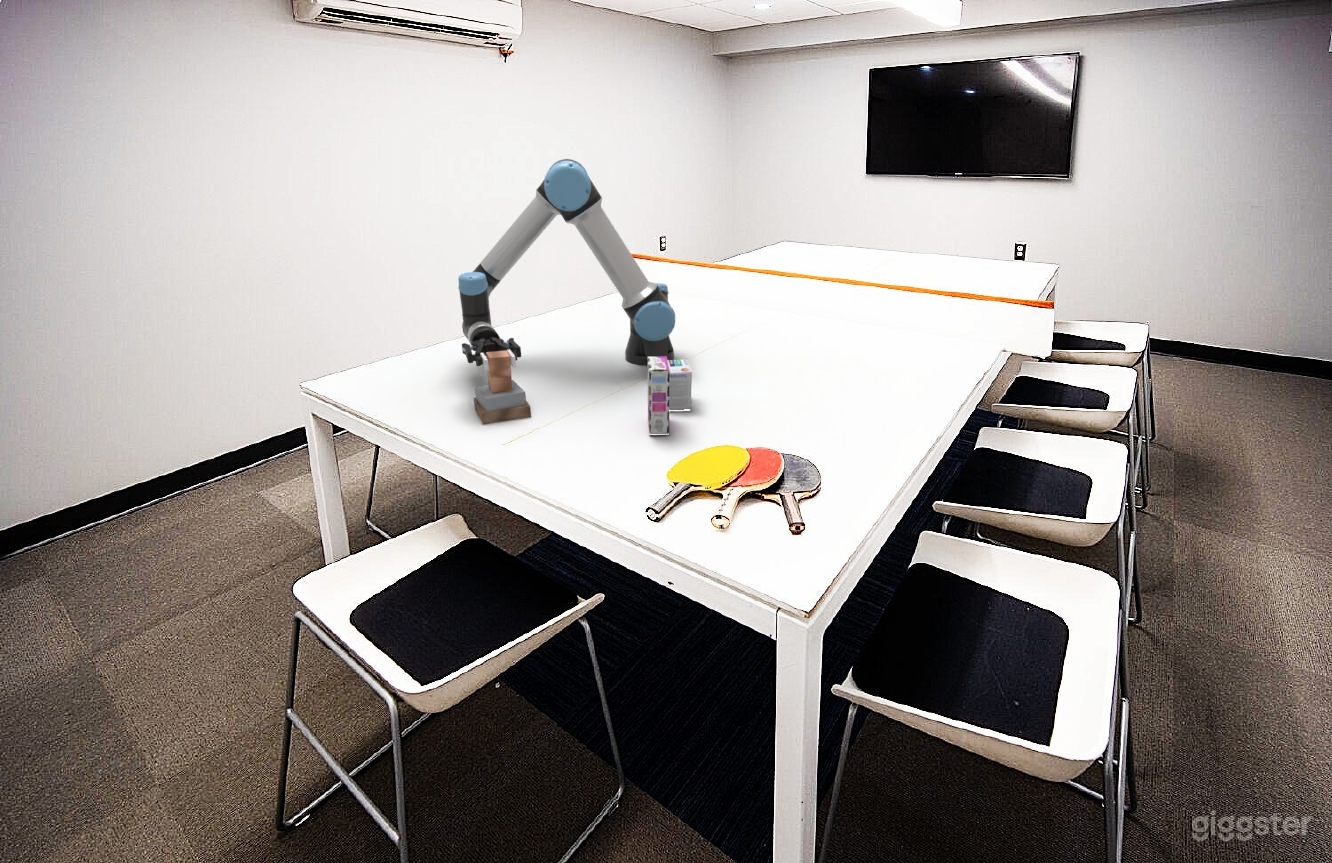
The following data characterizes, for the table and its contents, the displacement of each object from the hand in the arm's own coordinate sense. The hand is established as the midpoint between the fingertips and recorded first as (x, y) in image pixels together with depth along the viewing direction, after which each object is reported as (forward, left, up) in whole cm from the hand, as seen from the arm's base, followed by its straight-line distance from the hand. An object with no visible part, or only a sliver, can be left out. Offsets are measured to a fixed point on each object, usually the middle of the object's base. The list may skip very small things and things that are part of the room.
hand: (500, 363), depth 176 cm
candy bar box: (-33, +20, -15) cm, 41 cm away
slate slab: (0, -5, -12) cm, 13 cm away
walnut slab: (0, -5, -15) cm, 16 cm away
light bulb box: (-43, +8, -15) cm, 46 cm away
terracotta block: (0, -5, -8) cm, 10 cm away
